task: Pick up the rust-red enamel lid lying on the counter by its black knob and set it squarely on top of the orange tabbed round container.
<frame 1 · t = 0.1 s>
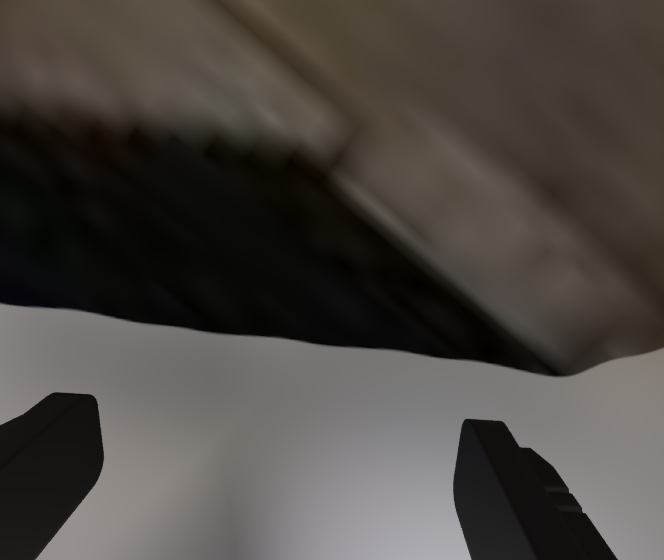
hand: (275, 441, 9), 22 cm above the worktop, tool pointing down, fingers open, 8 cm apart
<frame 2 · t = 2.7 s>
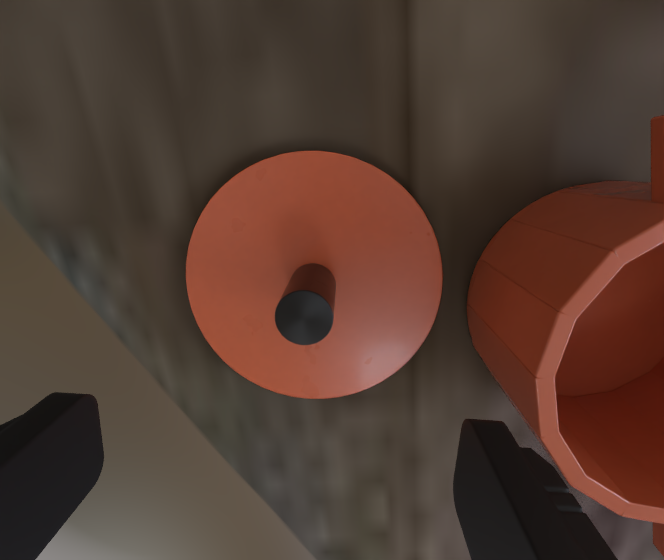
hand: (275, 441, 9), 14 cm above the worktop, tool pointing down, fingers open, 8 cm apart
orange tabbed round container: (582, 300, 22), on the worktop
lid: (313, 282, 21), point 1 cm above the worktop
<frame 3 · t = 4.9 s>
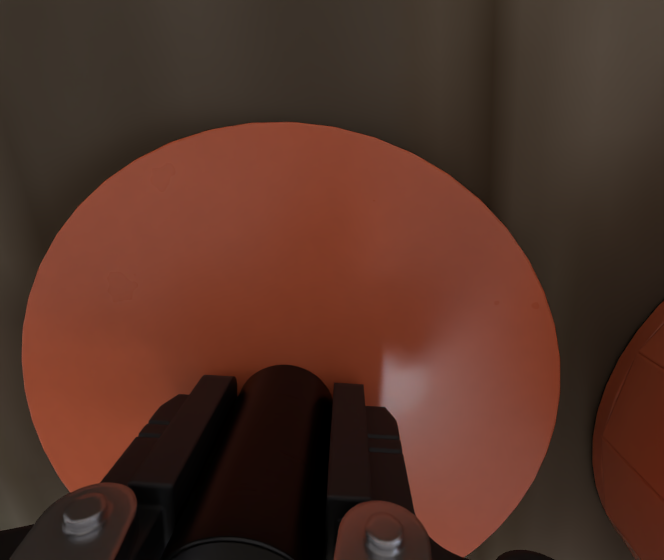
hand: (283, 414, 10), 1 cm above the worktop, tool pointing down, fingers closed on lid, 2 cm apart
lid: (288, 396, 11), point 1 cm above the worktop, touching gripper
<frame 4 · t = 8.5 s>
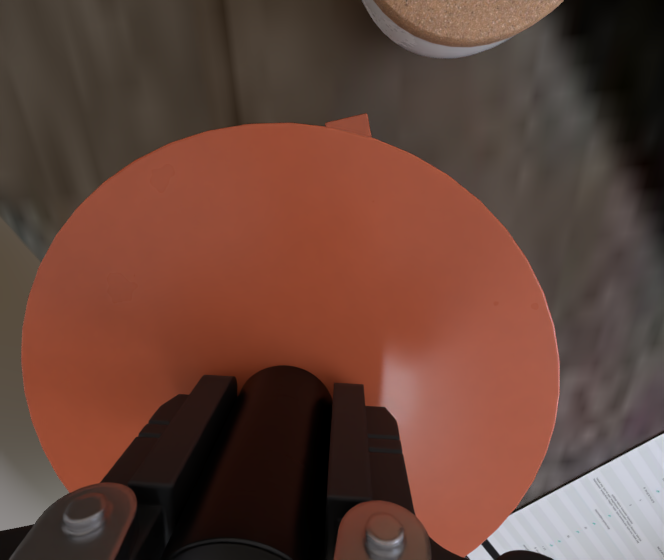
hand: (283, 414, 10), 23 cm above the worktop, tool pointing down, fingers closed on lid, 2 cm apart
orange tabbed round container: (368, 247, 32), on the worktop
lid: (288, 396, 11), point 22 cm above the worktop, touching gripper
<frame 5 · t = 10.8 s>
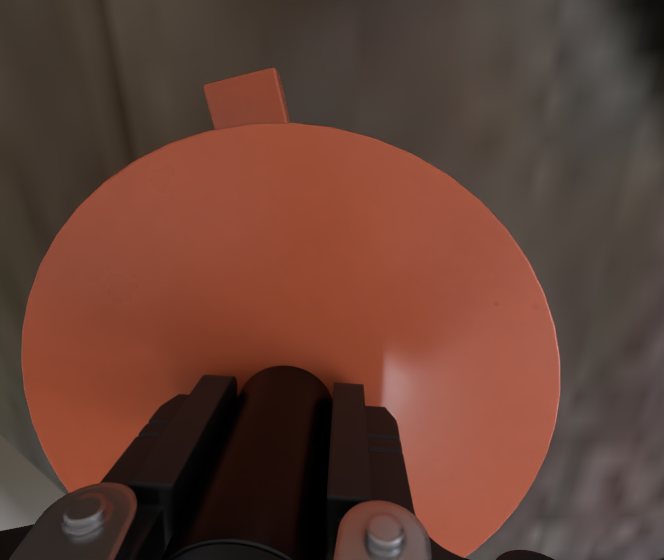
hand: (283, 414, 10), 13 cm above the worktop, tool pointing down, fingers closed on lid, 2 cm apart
orange tabbed round container: (317, 278, 22), on the worktop
lid: (288, 397, 11), point 12 cm above the worktop, touching gripper
when the fingers open (9 cm above the worktop, at t = 12.0 s): lid stays where it is, resting on orange tabbed round container.
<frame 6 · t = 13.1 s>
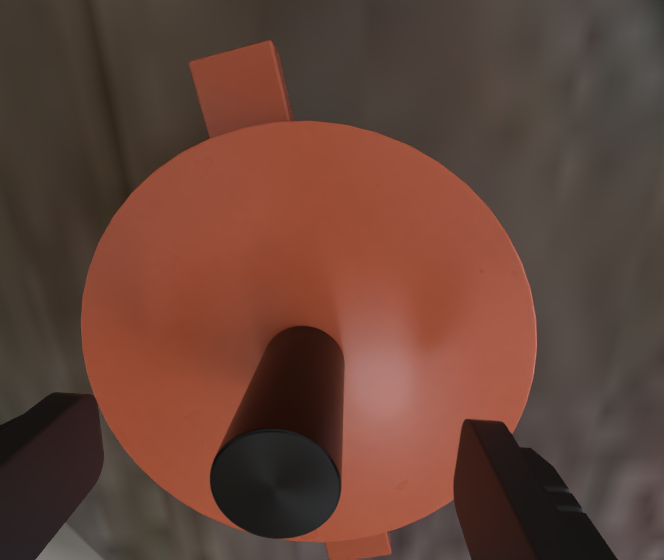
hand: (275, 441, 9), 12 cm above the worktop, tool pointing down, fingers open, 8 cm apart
orange tabbed round container: (322, 282, 21), on the worktop
lid: (305, 355, 12), point 8 cm above the worktop, touching orange tabbed round container
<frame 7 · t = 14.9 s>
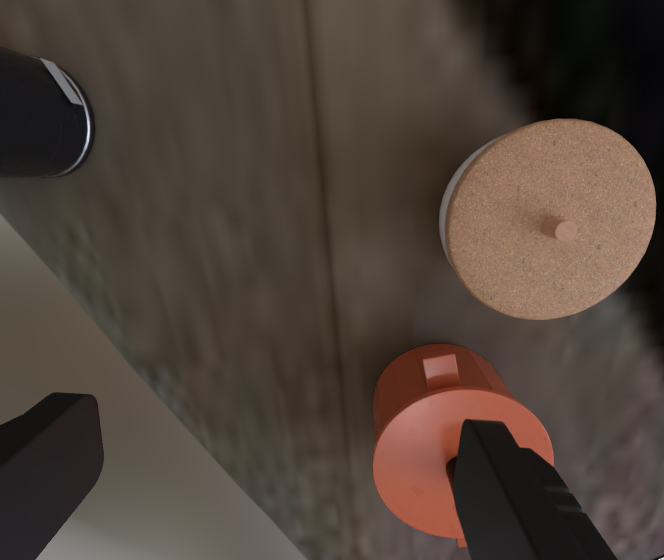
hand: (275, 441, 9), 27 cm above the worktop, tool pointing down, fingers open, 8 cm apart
lidded bowl: (499, 210, 34), on the worktop
orange tabbed round container: (437, 402, 39), on the worktop
lid: (460, 463, 31), point 8 cm above the worktop, touching orange tabbed round container
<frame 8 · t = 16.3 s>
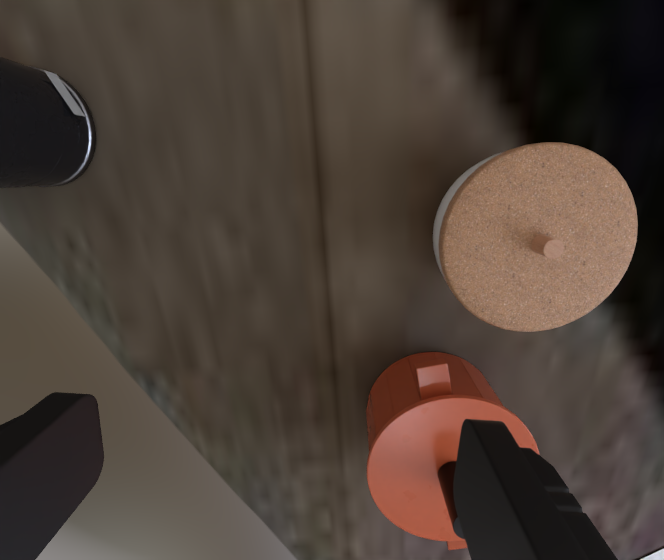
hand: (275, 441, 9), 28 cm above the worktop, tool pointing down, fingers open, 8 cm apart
lidded bowl: (490, 224, 35), on the worktop
orange tabbed round container: (429, 408, 40), on the worktop
lid: (451, 469, 32), point 8 cm above the worktop, touching orange tabbed round container
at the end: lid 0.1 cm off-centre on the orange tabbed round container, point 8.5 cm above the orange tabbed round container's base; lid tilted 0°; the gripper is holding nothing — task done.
